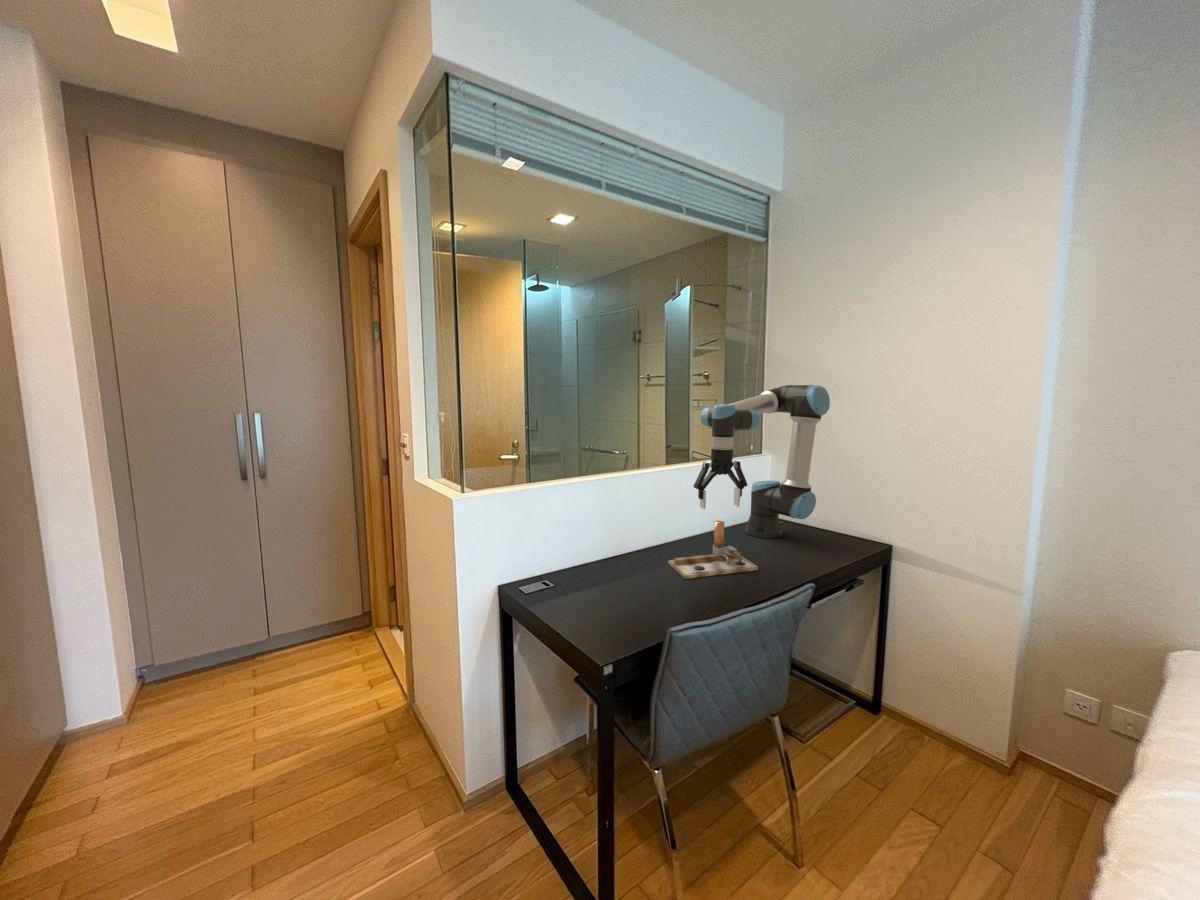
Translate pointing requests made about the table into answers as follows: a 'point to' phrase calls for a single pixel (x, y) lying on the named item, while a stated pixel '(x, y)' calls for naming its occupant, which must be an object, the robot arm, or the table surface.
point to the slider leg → (719, 540)
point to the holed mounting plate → (712, 564)
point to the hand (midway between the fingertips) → (719, 506)
